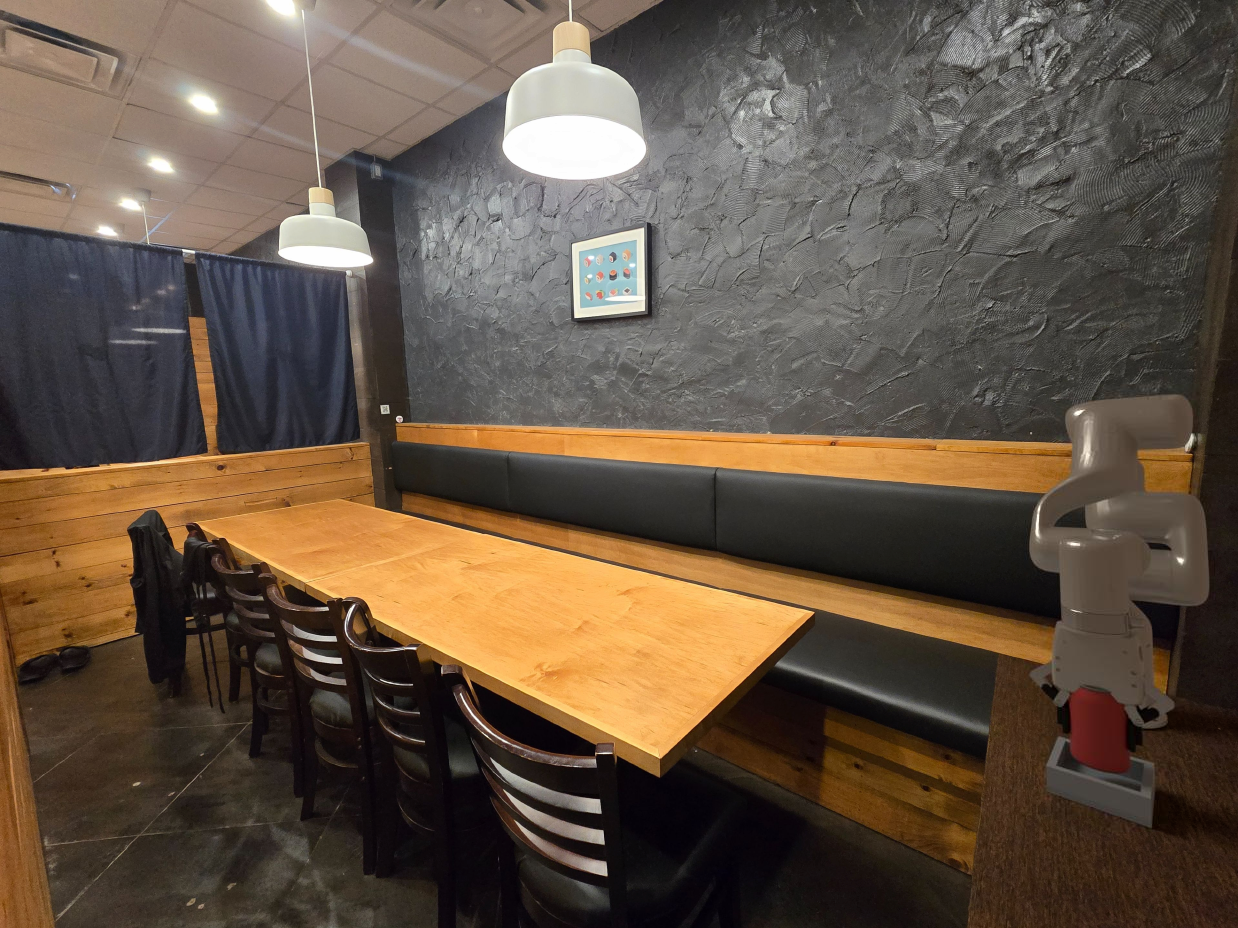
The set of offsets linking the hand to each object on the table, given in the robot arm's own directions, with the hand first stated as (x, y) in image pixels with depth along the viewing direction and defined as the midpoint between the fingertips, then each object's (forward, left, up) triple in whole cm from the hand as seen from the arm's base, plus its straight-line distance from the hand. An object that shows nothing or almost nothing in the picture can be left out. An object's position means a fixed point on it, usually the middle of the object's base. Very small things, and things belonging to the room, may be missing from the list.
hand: (1098, 737), depth 78 cm
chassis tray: (0, 0, -8) cm, 8 cm away
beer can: (0, 0, -4) cm, 4 cm away
